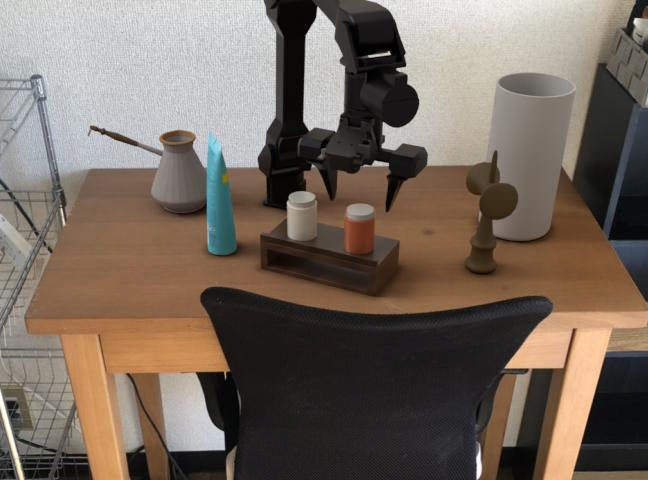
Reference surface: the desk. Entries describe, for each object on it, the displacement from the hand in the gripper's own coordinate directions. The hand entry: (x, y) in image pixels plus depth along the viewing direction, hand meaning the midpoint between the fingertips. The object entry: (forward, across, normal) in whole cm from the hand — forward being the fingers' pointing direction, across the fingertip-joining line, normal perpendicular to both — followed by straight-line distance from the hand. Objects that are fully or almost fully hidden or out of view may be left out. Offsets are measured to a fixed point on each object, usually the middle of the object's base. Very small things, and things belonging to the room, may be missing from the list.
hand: (360, 205), depth 129 cm
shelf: (+12, -5, -1) cm, 13 cm away
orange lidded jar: (+7, 0, 0) cm, 7 cm away
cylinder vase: (+12, +18, +28) cm, 35 cm away
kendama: (+12, +17, +10) cm, 24 cm away
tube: (+12, -24, -3) cm, 27 cm away
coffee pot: (+12, -44, +7) cm, 46 cm away
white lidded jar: (+7, -10, 0) cm, 12 cm away
